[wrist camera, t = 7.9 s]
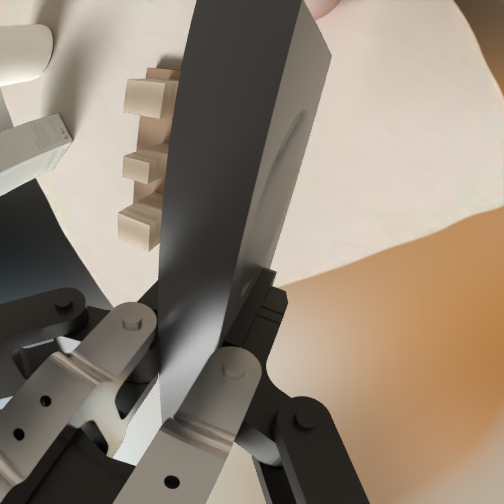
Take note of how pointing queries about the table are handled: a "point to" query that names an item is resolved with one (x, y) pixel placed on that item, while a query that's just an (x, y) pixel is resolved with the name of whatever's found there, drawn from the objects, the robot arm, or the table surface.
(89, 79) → the table surface
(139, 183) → the wooden peg rack
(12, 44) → the wine bottle
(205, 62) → the dark flat rectangular bar
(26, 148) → the skincare box
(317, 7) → the decorative fruit
